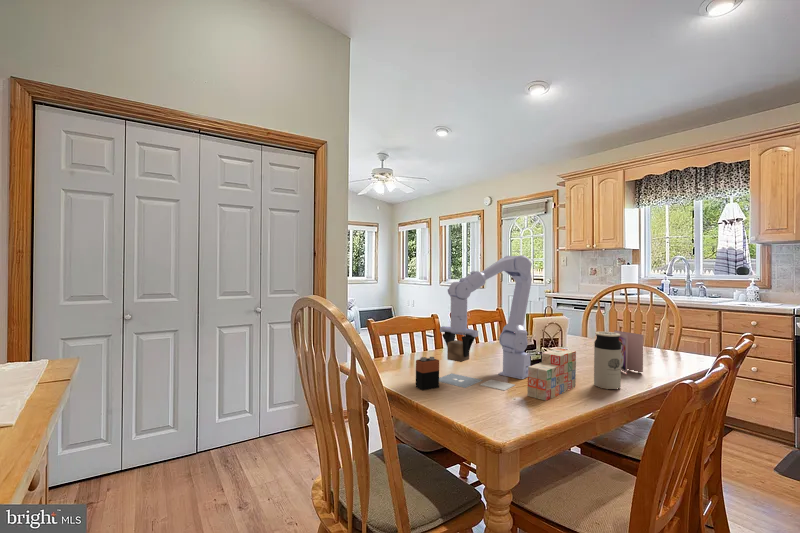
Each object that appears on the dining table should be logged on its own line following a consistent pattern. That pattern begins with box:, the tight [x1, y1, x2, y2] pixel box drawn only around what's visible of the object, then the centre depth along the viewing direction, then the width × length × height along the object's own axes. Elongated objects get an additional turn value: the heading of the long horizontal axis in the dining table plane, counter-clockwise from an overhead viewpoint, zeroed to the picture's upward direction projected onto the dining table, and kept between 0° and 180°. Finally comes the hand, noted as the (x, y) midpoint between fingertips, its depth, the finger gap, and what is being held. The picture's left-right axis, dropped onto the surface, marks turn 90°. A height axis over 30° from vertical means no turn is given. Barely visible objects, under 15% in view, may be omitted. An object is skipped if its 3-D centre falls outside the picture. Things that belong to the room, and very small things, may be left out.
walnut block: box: [446, 339, 470, 363], centre depth 141 cm, size 6×6×6 cm
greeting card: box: [614, 330, 644, 374], centre depth 155 cm, size 11×7×15 cm, turn 174°
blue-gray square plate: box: [439, 372, 484, 389], centre depth 141 cm, size 13×12×1 cm
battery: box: [415, 356, 440, 391], centre depth 132 cm, size 4×7×10 cm, turn 121°
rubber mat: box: [479, 379, 516, 392], centre depth 135 cm, size 9×8×1 cm
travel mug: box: [593, 331, 622, 390], centre depth 135 cm, size 8×8×18 cm
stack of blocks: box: [526, 348, 577, 401], centre depth 130 cm, size 21×6×12 cm, turn 134°
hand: (458, 355), depth 141 cm, fingers closed on walnut block, 5 cm apart
